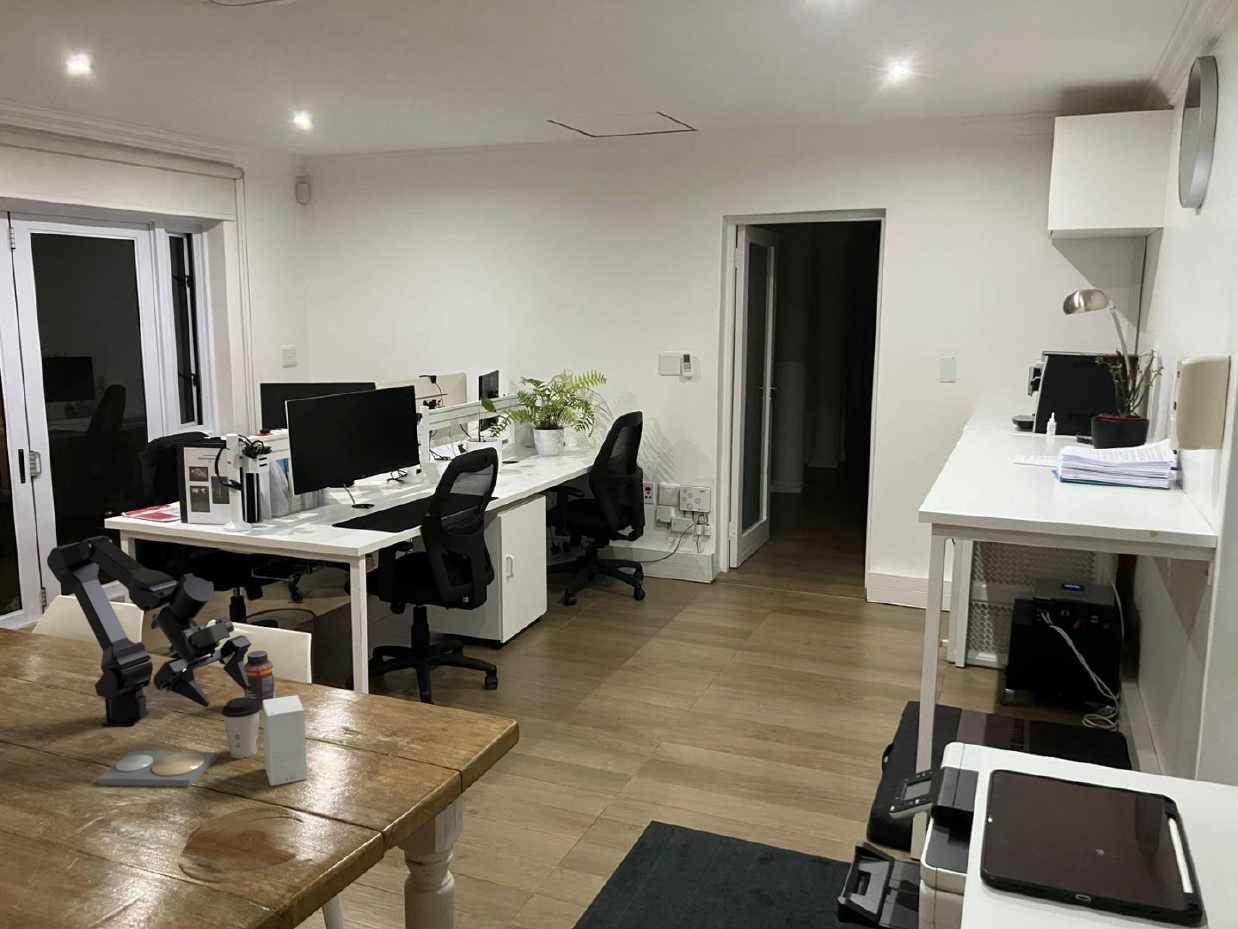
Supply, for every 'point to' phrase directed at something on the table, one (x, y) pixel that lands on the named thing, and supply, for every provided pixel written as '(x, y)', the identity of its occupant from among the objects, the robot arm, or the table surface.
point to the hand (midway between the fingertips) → (228, 697)
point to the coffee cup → (242, 726)
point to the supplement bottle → (259, 677)
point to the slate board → (158, 768)
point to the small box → (284, 740)
